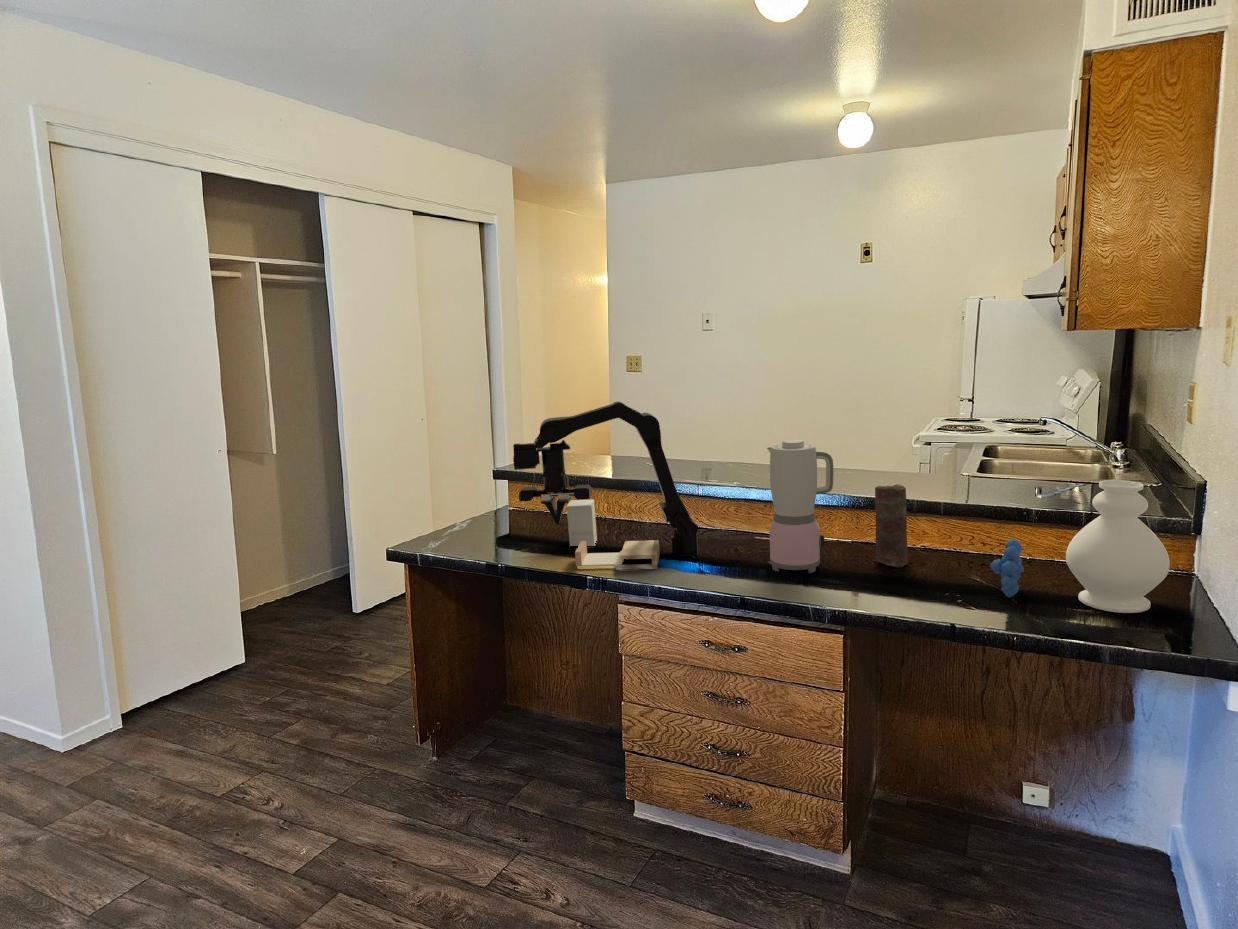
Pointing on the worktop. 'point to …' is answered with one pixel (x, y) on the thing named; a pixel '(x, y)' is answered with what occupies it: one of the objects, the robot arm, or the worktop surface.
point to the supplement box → (581, 522)
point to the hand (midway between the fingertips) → (558, 524)
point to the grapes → (1009, 567)
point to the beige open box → (640, 553)
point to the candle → (891, 525)
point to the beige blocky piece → (596, 557)
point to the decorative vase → (1118, 552)
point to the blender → (796, 505)
